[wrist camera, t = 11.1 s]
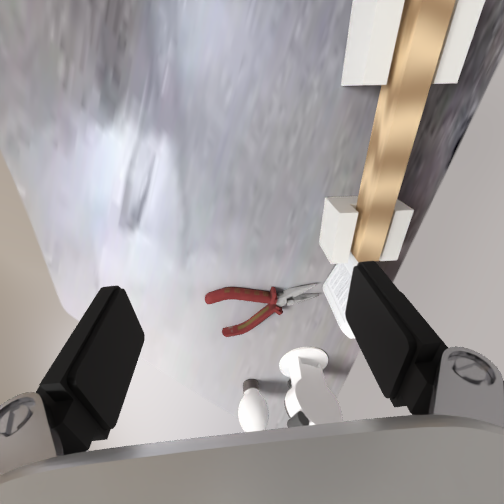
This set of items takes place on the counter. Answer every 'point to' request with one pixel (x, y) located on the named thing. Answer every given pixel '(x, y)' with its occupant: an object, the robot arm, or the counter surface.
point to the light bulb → (252, 408)
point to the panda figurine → (308, 388)
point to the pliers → (271, 298)
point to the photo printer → (340, 292)
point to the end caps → (376, 73)
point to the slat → (398, 120)
